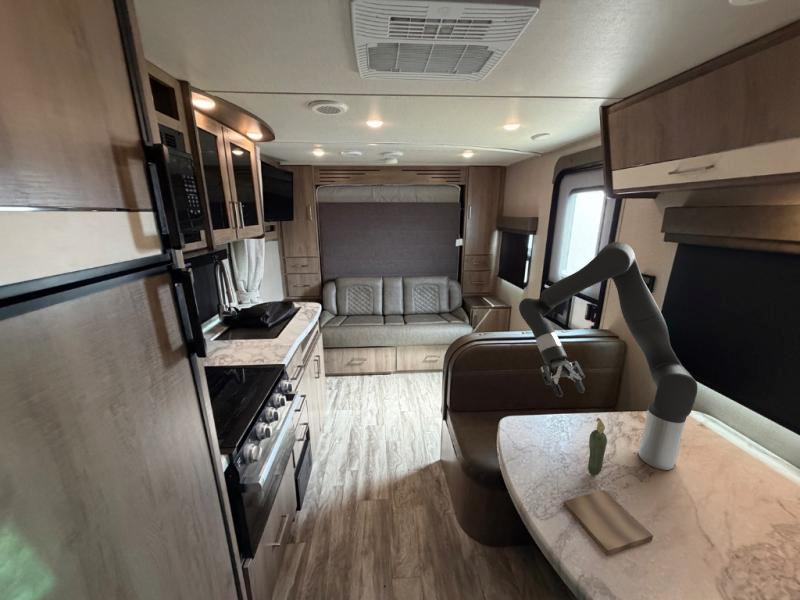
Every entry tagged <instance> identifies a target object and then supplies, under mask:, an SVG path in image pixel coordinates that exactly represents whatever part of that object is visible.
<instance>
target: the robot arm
mask: <svg viewBox="0 0 800 600" xmlns="http://www.w3.org/2000/svg"><path fill="white" fill-rule="evenodd" d="M609 279H612V281H613V284H614V286H615V288H616V291H617V294H618V295H617V296H618V300H619V306H620V312H621V314H622V317H623V319H624V321H625V323H626V327H628V330H629V332H630V334H631V335H632V337H633V338H634V341H635V342H636V343H637V345H638V347H639V348H640V350H641V351H642V353H643V354H644V355H643V356H644V357H645V359H646V362H647V366H648V368H649V371H650V375H651V378H652V381H653V382H654V384H655V386H656V387H657V388H656V392H655V395H654V399H651V400H650V401H649V403H648V406H647V407H648V408H647V410H646V416H645V421H644V424H643V425H644V426H643V431H642V435H641V439H640V445H639V449H638V456H639V458H640V459H641V461H643V462H645V463H646V464H647V465H649V466H651V467H653V468H656V469H658V470H663V471H670V470H673V469H674V468H675V464H676V463H677V460H678V456H679V452H680V448H681V444H682V440H683V439H682V436H683V432H684V427H685V424H686V420H687V417H688V416H690V414H691V413H692V410H693V407H694V405H695V401H696V398H697V394H698V383H697V381H696V380H695V378H694V377H693V376H692V375H691V374H690V372H689V371H688V370H687V369H686V368H685V367H684V366H683V365H682V363H681V361H680V359H679V358H678V357H677V355H676V353H675V351H674V349H673V348H672V346H671V340H670V334H669V333H670V332H669V330H668V325H667V323H666V319H665V318H664V316H663V314H662V312H661V309H660V307H659V306H658V304H657V302H656V300H655V298H654V296H653V295H652V293H651V291H650V289H649V288H648V286H647V284H646V282H645V281H644V280H645V279H644V278H643V275H642V273H641V271H640V268H639V264H638V261H637V258H636V255H635V252H634V250H633V248H632V247H631V246H630V245H628V244H626V243H625V242H621V241H612V242H610V243H608V244H606V245H604V247H603V248H601V250H599V252H598V253H597V255H595V257H594V258H593V259H591V260H590V261H589V262H588V263H587V264H585V266H583V267H582V268H580V269H579V270H577V271H575V272H574V273H572V274H570V275H568V276H565V277H563V278H562V279H560V280H557V281H556V282H554V283H552V284H551V285H550V286H548V287H546V288H545V289H544V290H542V292H541V293H540V297H539V298H537V299H536V298H523V299H522V300H521V301H520V302H519V305H518V311H519V313H520V315H521V317H522V319H523V321H524V322H525V323H526V324H527V326H528V327H529V329H531V332H532V333H533V336H534V338H535V341H536V345H537V348H538V350H539V352H540V355H541V358H542V359H543V362H544V364H545V365H543V366H541V367H539V371H540V374H541V376H542V380H543V382H544V384H545V385H546V386H551V388H552V389H553V391H554V394H555V395H556V397H558V398H561V397H563V396H564V392H563V391H562V388H561V386H560V384H558V383H559V380H560V379H561V378H568V379H571V380H572V381H573V382H574V385H575V387H576V389H577V392H578V393H579V394H583V393H586V387H585V386H584V384H583V381H582V380H583V379H585V378H586V375H585V373H584V371H583V370H582V368H581V365H580V364H579V362H578V361H577V360H574V361H572V362H569V360H568V355H567V353H566V350H565V349H564V346H563V344H562V341H561V340H560V338H559V337H558V335H557V333H556V331H555V329H554V327H553V325H552V323H551V321H549V320H548V319H546V318H544V317H545V316H546V315H548V314H549V313H550V312H551V311H552V310H553V309H554V308H555V307H556V306H558V305H560V304H562V303H565V302H566V301H567V300H570V299H571V298H573V297H574V296H575V295H578V294H579V293H581V292H583V291H585V290H586V289H588V288H590V287H593V286H594V285H597V284H599V283H601V282H605V281H607V280H609ZM550 373H551V374H550Z"/></svg>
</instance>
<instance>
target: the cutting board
mask: <svg viewBox="0 0 800 600" xmlns="http://www.w3.org/2000/svg"><path fill="white" fill-rule="evenodd" d="M562 503H563V504H562V506H563V507H564V508H565V509H566V511H567V512H568V513H569V514H570V515H571V516H572V517H573V518H574V519H575V521H576V522H577V523H578V524H579V525H580V527H582V528H583V530H584V531H585V532H586V534H588V536H589V537H590V538H591V539H592V540H593V541H594V542H595V544H596V545H597V546H598V547H599V548H600V550H602V552H603V553H604V554H605V555H606V556H609V555H613V554H615V553H618V552H621V551H624V550H627V549H630V548H634V547H635V546H638V545H642V544H645V543H647V542H650V541H653V537H654V535H653V534H652V532H650V531H649V530H648V529H647V528H646V527H645V526H644V525H643V524H642V523H641V522H640V521H639V520H638V519H636V518H635V517H634V516H633V514H631V512H629V511H628V510H627V509H626V508H625V507H623V506H622V504H620V503H619V502H618V501H617V500H616V499H615V498H614V497H613V496H612V495H610V493H608V491H606V490H605V489H602V490H598V491H593V492H590V493H586V494H583V495H579V496H575V497H572V498H568V499H565V500H563V502H562Z"/></svg>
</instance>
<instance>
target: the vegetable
mask: <svg viewBox="0 0 800 600" xmlns="http://www.w3.org/2000/svg"><path fill="white" fill-rule="evenodd" d="M596 422H597V426H596V429H594V430H592V432H591V433H590V435H589V441H588V443H589V444H588V447H589V457H588V458H589V459H588V464H587V470H588V474H590V475H591V476H593V477H594V476H598V475H600V474H601V472H602V469H603V464H604V457H605V452H606V449H607V444H608V439H607V435H606V434H605V432H604V431H605V429H606V426H605V424H604V422H603V421H602V418H600V417H597V418H596Z"/></svg>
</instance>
